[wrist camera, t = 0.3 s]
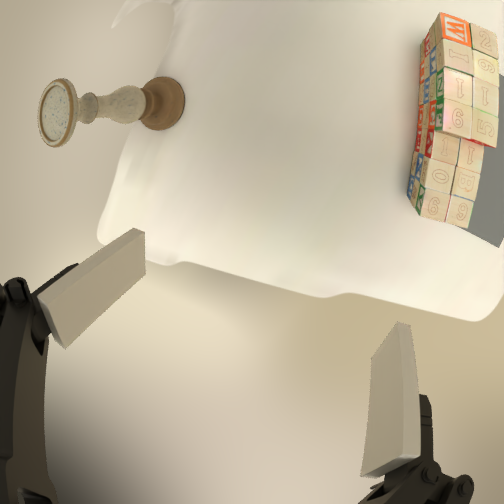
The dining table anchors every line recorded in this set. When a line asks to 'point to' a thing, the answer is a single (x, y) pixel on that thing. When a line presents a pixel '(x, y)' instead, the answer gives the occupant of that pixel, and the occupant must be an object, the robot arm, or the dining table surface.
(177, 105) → the candle holder
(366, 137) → the dining table surface
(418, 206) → the stack of blocks
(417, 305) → the dining table surface
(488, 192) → the mat
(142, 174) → the dining table surface
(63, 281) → the robot arm
